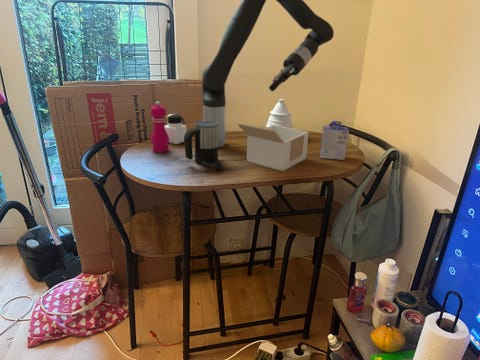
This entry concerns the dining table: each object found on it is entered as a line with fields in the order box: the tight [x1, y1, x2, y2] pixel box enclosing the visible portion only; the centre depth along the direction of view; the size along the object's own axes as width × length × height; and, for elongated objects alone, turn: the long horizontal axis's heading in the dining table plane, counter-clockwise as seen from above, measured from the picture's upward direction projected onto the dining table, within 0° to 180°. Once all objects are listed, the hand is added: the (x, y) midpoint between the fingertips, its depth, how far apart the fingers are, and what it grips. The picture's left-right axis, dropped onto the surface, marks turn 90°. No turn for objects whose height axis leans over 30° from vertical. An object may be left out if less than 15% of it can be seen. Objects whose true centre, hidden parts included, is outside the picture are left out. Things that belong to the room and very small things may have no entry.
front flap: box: [236, 122, 284, 143], centre depth 123 cm, size 9×15×1 cm
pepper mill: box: [150, 101, 169, 153], centre depth 142 cm, size 7×7×20 cm
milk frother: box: [183, 120, 225, 171], centre depth 128 cm, size 14×16×15 cm
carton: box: [246, 125, 310, 173], centre depth 135 cm, size 18×17×11 cm
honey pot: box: [265, 98, 294, 129], centre depth 165 cm, size 13×13×18 cm
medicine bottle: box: [164, 113, 187, 145], centre depth 155 cm, size 7×7×12 cm
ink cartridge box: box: [319, 120, 350, 161], centre depth 140 cm, size 10×6×14 cm, turn 78°
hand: (271, 89), depth 133 cm, fingers closed
